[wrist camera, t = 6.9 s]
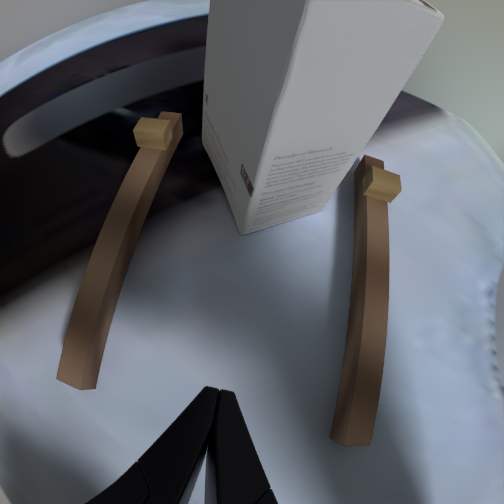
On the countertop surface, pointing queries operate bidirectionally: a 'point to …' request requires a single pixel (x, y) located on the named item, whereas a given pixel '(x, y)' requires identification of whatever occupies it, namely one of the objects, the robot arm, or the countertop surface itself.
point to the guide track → (125, 238)
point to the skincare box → (301, 95)
